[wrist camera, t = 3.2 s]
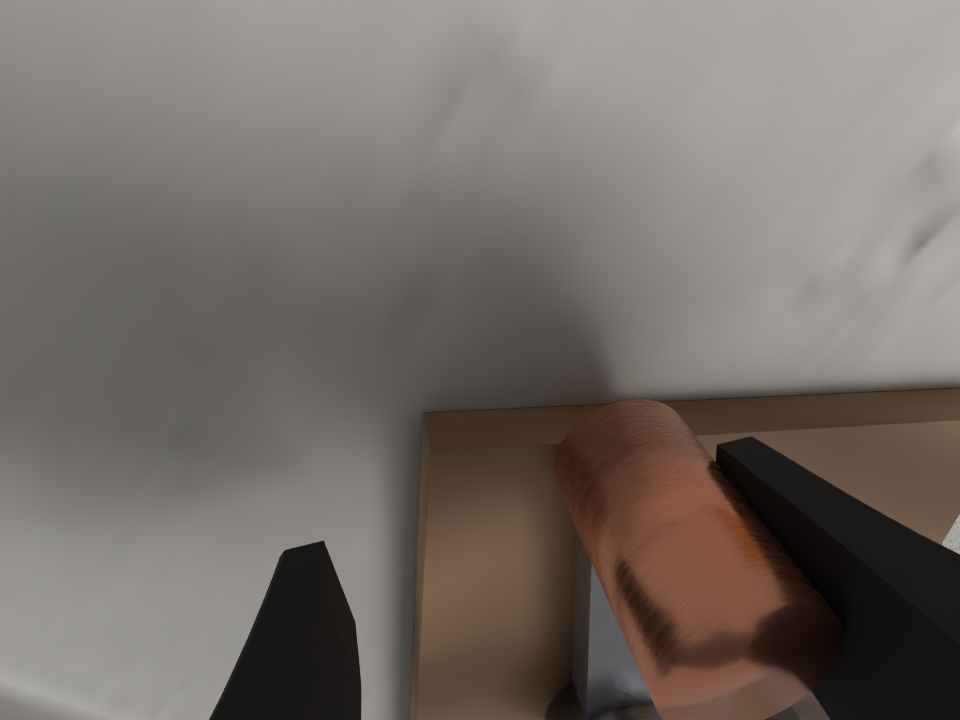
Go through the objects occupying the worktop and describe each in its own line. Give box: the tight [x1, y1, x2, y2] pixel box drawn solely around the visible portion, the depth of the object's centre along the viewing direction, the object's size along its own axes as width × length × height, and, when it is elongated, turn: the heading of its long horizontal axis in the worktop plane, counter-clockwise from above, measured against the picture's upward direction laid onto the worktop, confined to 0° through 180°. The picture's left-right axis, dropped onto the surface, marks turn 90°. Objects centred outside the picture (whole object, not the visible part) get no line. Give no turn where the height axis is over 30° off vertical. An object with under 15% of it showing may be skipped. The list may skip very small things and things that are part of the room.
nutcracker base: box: [409, 388, 960, 720], centre depth 16 cm, size 15×13×3 cm
